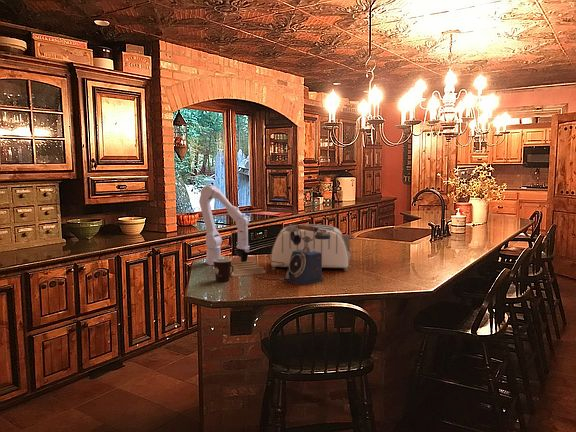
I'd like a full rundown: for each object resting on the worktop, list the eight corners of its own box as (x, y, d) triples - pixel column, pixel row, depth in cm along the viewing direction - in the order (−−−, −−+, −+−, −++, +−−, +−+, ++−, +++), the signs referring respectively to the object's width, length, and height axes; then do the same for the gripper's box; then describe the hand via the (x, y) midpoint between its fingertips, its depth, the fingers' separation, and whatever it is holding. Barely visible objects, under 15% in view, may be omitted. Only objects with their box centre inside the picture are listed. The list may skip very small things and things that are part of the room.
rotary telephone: (248, 275, 243) (247, 222, 239) (282, 269, 256) (282, 219, 253) (299, 293, 211) (299, 232, 208) (335, 285, 224) (336, 227, 221)
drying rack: (222, 269, 253) (221, 263, 253) (253, 266, 261) (253, 260, 261) (232, 276, 238) (232, 270, 238) (265, 273, 246) (265, 267, 246)
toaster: (355, 271, 250) (355, 229, 247) (270, 270, 253) (269, 228, 251) (352, 263, 271) (353, 224, 268) (274, 261, 274) (274, 223, 272)
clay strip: (230, 266, 262) (230, 257, 262) (253, 263, 269) (253, 255, 268) (231, 267, 260) (231, 258, 260) (255, 264, 266) (255, 256, 266)
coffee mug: (212, 279, 233) (211, 259, 232) (229, 277, 236) (229, 257, 235) (217, 285, 222) (216, 264, 221) (235, 283, 225) (234, 262, 224)
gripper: (254, 240, 258) (254, 264, 259) (244, 236, 271) (245, 259, 272) (242, 241, 255) (242, 265, 256) (233, 237, 268) (233, 260, 269)
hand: (243, 262), depth 264 cm, fingers closed on clay strip, 2 cm apart
